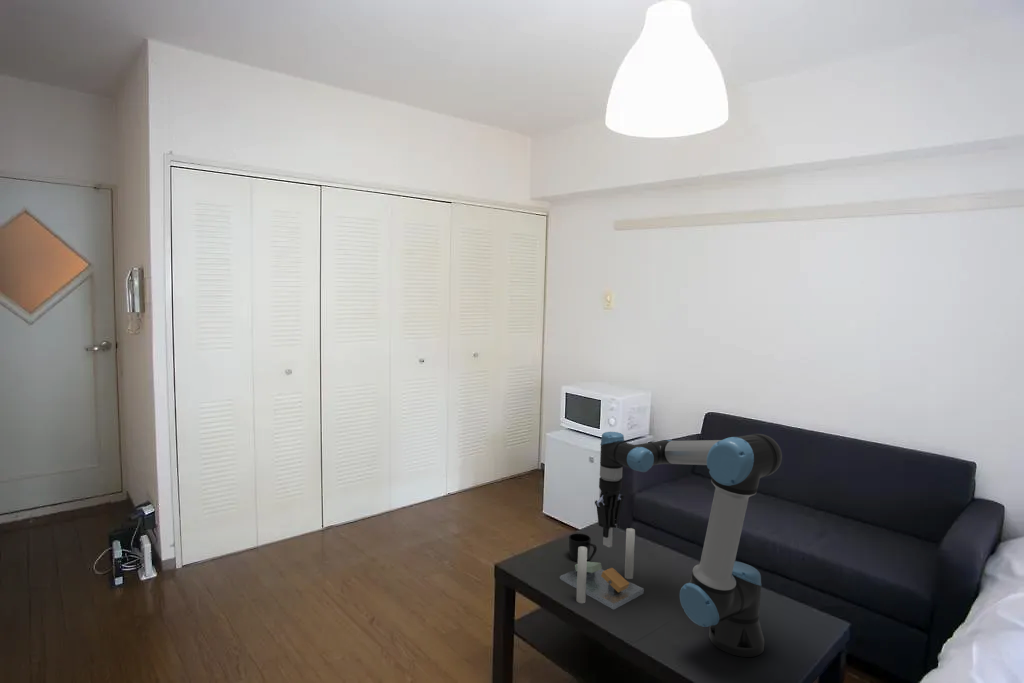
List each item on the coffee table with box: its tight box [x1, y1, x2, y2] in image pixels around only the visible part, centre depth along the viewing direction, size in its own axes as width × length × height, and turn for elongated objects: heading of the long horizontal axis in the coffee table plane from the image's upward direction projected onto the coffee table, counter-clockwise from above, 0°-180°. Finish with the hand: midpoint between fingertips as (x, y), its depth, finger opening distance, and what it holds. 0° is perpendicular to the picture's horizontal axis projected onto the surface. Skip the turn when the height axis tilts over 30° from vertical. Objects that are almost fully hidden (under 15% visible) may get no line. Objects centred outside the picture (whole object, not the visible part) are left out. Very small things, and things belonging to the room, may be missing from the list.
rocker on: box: [574, 561, 603, 573], centre depth 200 cm, size 8×6×2 cm
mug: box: [568, 533, 598, 563], centre depth 214 cm, size 8×12×10 cm
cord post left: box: [575, 546, 588, 604], centre depth 185 cm, size 3×3×18 cm
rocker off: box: [601, 567, 630, 593], centre depth 191 cm, size 8×6×2 cm
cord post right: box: [624, 527, 636, 580], centre depth 202 cm, size 3×3×18 cm
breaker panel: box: [559, 568, 645, 610], centre depth 195 cm, size 24×16×4 cm, turn 41°
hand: (607, 545), depth 193 cm, fingers closed
